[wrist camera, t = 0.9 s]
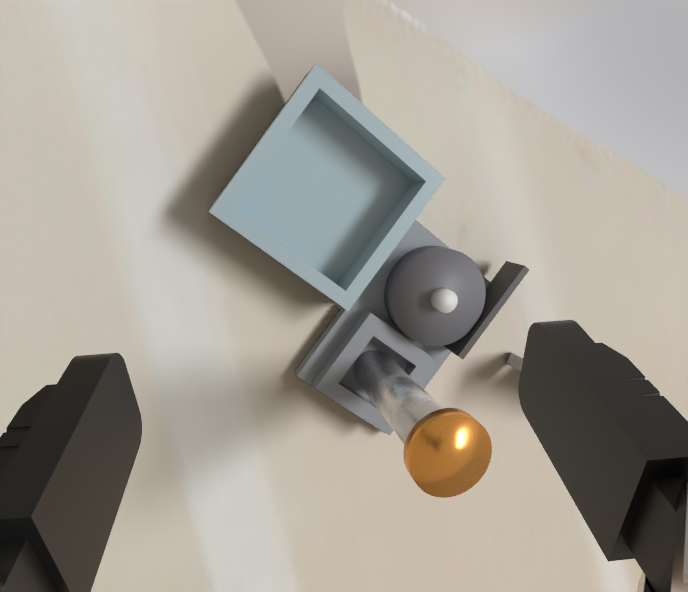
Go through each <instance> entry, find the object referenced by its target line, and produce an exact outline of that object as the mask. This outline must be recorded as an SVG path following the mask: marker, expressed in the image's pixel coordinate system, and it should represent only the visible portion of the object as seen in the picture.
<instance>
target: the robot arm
mask: <svg viewBox="0 0 688 592" xmlns="http://www.w3.org/2000/svg"><path fill="white" fill-rule="evenodd" d="M519 399H520V403H521V407H522V410H523V412H524V414H525V416H526V418H527V420H528V421H529V423H530V425H531V427H532V428H533V430H534V432H535V434H536V435H537V437H538V439H539V441H540V442H541V444H542V446H543V448H544V449H545V451H546V453H547V455H548V456H549V458H550V460H551V462H552V463H553V465H554V467H555V469H556V470H557V472H558V474H559V476H560V477H561V479H562V481H563V483H564V485H565V486H566V488H567V490H568V492H569V493H570V495H571V497H572V499H573V500H574V502H575V504H576V506H577V507H578V509H579V511H580V513H581V514H582V516H583V518H584V520H585V521H586V523H587V525H588V527H589V528H590V530H591V532H592V534H593V535H594V537H595V539H596V541H597V542H598V544H599V546H600V548H601V549H602V551H603V553H604V555H605V556H606V558H607V560H608V561H615V560H624V559H633V558H635V559H636V561H637V562H638V564H639V566H640V567H641V569H642V570H643V573H642V575H641V577H640V580H639V584H638V591H637V592H688V421H687V420H686V419H685V418H684V417H683V416H682V415H681V414H680V413H679V412H678V411H677V410H676V409H675V408H674V407H673V406H672V405H671V404H670V403H669V401H668V400H667V399H666V398H665V397H664V396H660V394H659V391H658V390H657V389H656V388H655V387H654V386H653V385H652V384H651V382H650V381H649V380H645V376H644V375H643V374H642V373H641V372H640V371H639V370H638V369H637V368H636V367H635V366H634V365H633V363H632V362H631V361H630V360H629V359H628V358H627V357H625V356H623V355H622V354H620V353H618V352H617V351H615V350H613V349H612V348H610V347H608V346H607V345H605V344H603V343H595V342H594V341H593V340H592V339H591V338H590V337H589V336H588V335H587V333H586V332H585V331H584V330H583V329H582V328H581V327H580V326H579V324H578V323H576V322H575V321H573V320H564V321H551V322H538V323H533V324H532V325H531V327H530V329H529V332H528V336H527V342H526V347H525V353H524V358H523V363H522V369H521V374H520V379H519ZM141 436H142V421H141V414H140V411H139V407H138V404H137V401H136V397H135V394H134V391H133V388H132V384H131V381H130V378H129V374H128V371H127V368H126V364H125V362H124V359H123V357H122V356H121V355H120V354H119V353H110V354H97V355H84V356H76V357H74V358H73V359H72V360H71V362H70V364H69V365H68V367H67V368H66V370H65V372H64V373H63V375H62V377H61V378H60V380H59V382H58V383H57V384H55V385H46V386H45V387H43V388H42V389H41V390H40V391H39V392H37V393H36V394H35V395H34V396H33V397H31V398H30V399H29V400H28V401H26V402H25V403H24V404H23V405H22V406H21V407H20V409H19V410H18V412H17V413H16V415H15V416H14V418H13V419H12V421H11V422H10V424H9V425H8V427H7V432H6V433H3V434H2V436H1V437H0V592H90V591H91V589H92V586H93V583H94V580H95V577H96V574H97V571H98V568H99V565H100V562H101V559H102V556H103V553H104V550H105V547H106V544H107V541H108V538H109V535H110V532H111V529H112V526H113V523H114V520H115V517H116V515H117V512H118V509H119V506H120V503H121V500H122V497H123V494H124V491H125V488H126V485H127V482H128V479H129V476H130V473H131V470H132V467H133V464H134V461H135V458H136V455H137V452H138V449H139V446H140V442H141Z"/></svg>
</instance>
